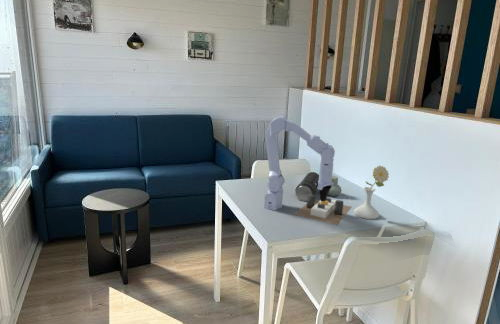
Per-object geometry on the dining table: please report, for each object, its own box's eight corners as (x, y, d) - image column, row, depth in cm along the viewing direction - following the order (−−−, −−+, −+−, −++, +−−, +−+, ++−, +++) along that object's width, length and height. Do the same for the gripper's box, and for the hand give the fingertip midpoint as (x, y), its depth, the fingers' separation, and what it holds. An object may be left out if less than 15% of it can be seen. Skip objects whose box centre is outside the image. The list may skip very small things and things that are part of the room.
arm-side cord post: (312, 209, 172) (313, 197, 170) (305, 207, 174) (306, 195, 172) (315, 207, 175) (316, 195, 173) (308, 205, 177) (309, 193, 175)
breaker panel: (336, 227, 156) (338, 215, 154) (293, 216, 165) (294, 205, 163) (351, 208, 178) (352, 198, 176) (312, 200, 187) (313, 190, 186)
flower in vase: (355, 220, 164) (362, 167, 158) (351, 211, 175) (358, 160, 169) (385, 223, 162) (393, 169, 156) (379, 213, 173) (387, 163, 167)
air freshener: (319, 191, 201) (320, 174, 199) (332, 190, 204) (334, 173, 201) (329, 198, 191) (331, 180, 189) (342, 197, 194) (344, 179, 191)
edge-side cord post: (340, 215, 166) (342, 203, 164) (333, 214, 167) (334, 201, 166) (342, 213, 169) (344, 201, 167) (335, 211, 170) (336, 199, 169)
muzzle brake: (304, 187, 210) (321, 187, 207) (293, 202, 184) (313, 202, 181) (302, 171, 209) (320, 171, 205) (291, 184, 183) (312, 184, 179)
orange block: (327, 205, 169) (327, 202, 169) (321, 203, 170) (321, 200, 170) (328, 204, 170) (328, 201, 170) (322, 202, 172) (322, 199, 171)
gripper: (329, 177, 155) (326, 207, 159) (338, 170, 168) (335, 198, 171) (314, 174, 159) (311, 203, 162) (324, 167, 171) (321, 195, 174)
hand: (322, 200), depth 167 cm, fingers closed
